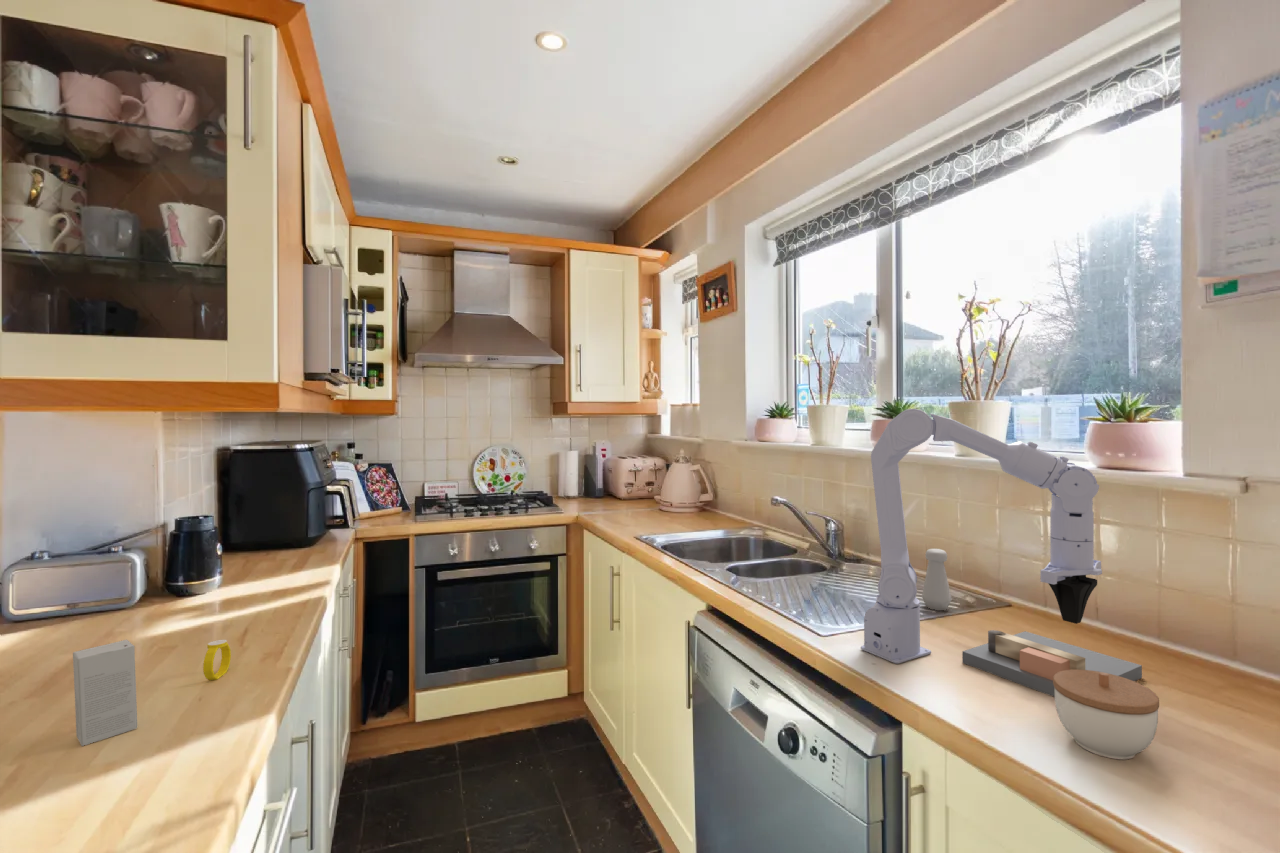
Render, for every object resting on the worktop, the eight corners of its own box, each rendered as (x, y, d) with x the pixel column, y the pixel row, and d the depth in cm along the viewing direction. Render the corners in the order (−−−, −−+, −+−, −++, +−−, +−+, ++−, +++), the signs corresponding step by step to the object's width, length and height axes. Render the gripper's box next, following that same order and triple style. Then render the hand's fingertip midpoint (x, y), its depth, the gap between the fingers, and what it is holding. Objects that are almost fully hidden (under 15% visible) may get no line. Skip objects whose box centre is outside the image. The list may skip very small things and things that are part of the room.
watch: (218, 671, 104) (218, 637, 105) (235, 670, 105) (235, 636, 105) (198, 684, 98) (198, 647, 99) (216, 683, 99) (217, 646, 99)
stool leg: (984, 649, 103) (984, 631, 103) (994, 646, 104) (994, 629, 104) (1076, 680, 90) (1076, 661, 90) (1085, 677, 92) (1085, 657, 92)
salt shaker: (948, 614, 128) (948, 553, 128) (919, 609, 132) (919, 550, 132) (953, 606, 133) (953, 548, 133) (925, 602, 136) (925, 545, 136)
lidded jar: (1111, 776, 70) (1111, 697, 70) (1033, 730, 81) (1033, 661, 81) (1182, 764, 72) (1182, 687, 72) (1098, 720, 83) (1097, 653, 83)
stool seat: (1079, 706, 87) (1079, 672, 87) (962, 662, 103) (962, 634, 103) (1141, 677, 96) (1141, 646, 96) (1025, 641, 112) (1025, 615, 112)
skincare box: (131, 719, 87) (129, 638, 87) (137, 729, 84) (135, 645, 84) (74, 737, 82) (72, 651, 82) (79, 747, 80) (77, 658, 80)
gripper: (1075, 548, 90) (1075, 637, 90) (1122, 537, 97) (1122, 620, 97) (1026, 539, 96) (1026, 623, 96) (1074, 530, 103) (1074, 608, 103)
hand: (1071, 621), depth 97 cm, fingers closed
